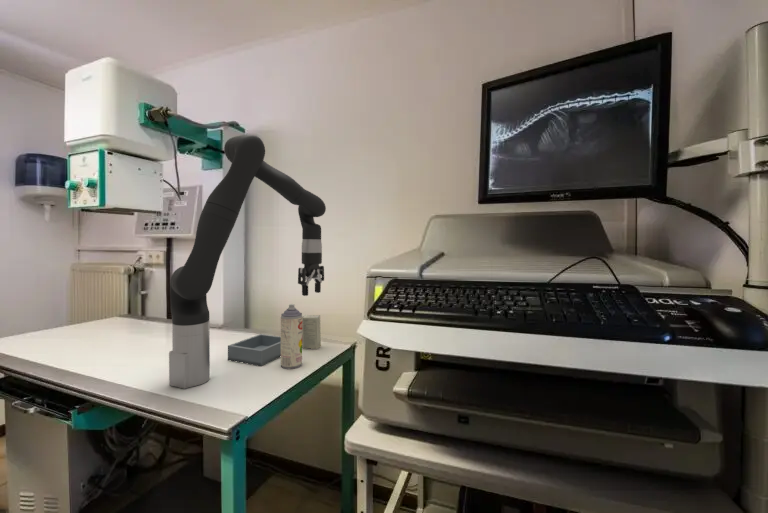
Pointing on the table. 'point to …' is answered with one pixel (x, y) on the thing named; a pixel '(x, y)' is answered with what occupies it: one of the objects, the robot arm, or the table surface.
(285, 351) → the aerosol can
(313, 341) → the skincare box
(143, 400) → the table surface
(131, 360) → the table surface
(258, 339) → the tote
